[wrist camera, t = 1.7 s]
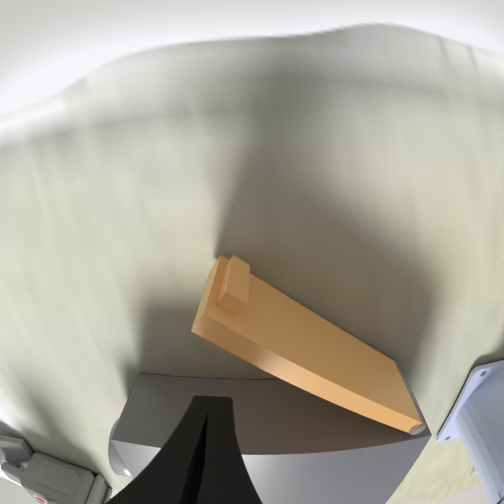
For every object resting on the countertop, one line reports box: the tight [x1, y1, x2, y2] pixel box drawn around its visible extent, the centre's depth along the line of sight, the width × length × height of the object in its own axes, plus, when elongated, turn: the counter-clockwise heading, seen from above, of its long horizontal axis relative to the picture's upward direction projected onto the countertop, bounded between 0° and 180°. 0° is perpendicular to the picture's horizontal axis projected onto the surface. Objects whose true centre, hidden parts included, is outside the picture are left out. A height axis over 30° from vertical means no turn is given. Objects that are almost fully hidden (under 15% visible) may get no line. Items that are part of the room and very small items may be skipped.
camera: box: [0, 435, 112, 504], centre depth 18 cm, size 9×12×15 cm
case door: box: [191, 255, 427, 435], centre depth 13 cm, size 12×1×5 cm, turn 56°
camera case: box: [108, 373, 432, 504], centre depth 16 cm, size 17×9×5 cm, turn 91°
